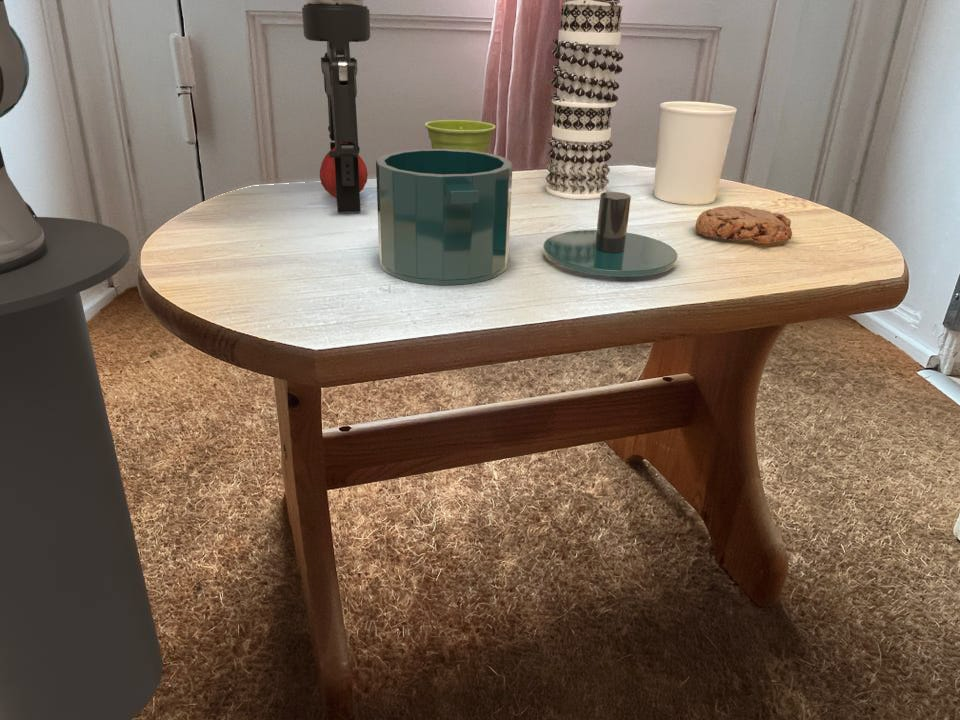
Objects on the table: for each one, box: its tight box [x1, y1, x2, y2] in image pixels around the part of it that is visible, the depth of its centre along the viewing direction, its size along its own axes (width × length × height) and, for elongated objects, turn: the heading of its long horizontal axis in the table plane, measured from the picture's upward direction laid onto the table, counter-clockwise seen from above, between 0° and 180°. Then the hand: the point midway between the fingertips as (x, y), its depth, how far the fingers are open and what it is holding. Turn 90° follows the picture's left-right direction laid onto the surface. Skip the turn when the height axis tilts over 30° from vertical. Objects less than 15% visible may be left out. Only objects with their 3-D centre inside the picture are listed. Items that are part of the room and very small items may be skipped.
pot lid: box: [542, 191, 678, 278], centre depth 74 cm, size 14×14×7 cm
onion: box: [319, 143, 368, 200], centre depth 91 cm, size 6×6×8 cm
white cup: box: [653, 100, 738, 206], centre depth 99 cm, size 10×10×12 cm
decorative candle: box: [545, 0, 624, 200], centre depth 97 cm, size 9×9×25 cm
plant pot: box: [424, 119, 496, 153], centre depth 100 cm, size 9×9×9 cm
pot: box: [375, 148, 514, 286], centre depth 71 cm, size 13×18×10 cm
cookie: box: [695, 205, 793, 244], centre depth 85 cm, size 10×11×3 cm
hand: (346, 201), depth 93 cm, fingers open, 8 cm apart
